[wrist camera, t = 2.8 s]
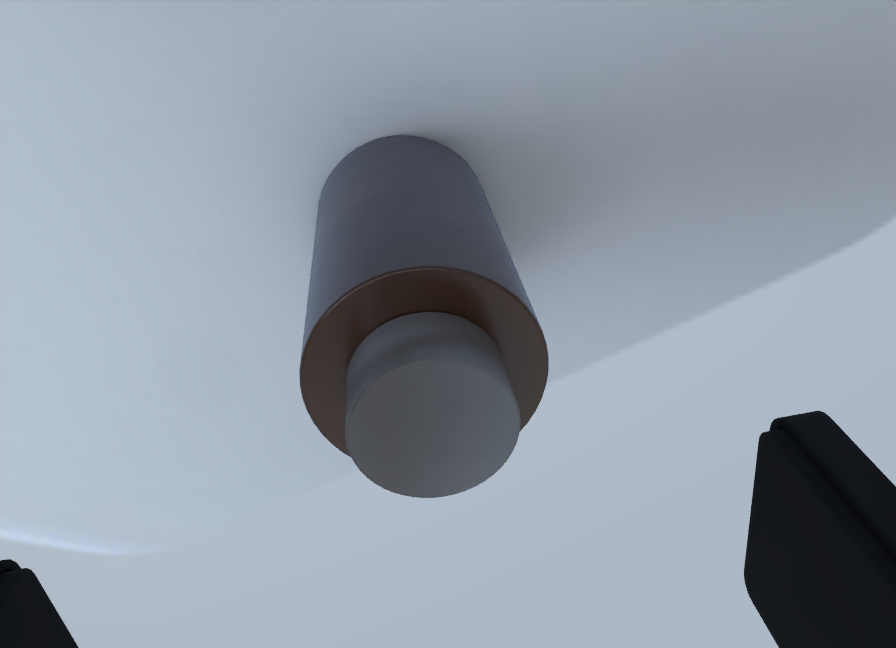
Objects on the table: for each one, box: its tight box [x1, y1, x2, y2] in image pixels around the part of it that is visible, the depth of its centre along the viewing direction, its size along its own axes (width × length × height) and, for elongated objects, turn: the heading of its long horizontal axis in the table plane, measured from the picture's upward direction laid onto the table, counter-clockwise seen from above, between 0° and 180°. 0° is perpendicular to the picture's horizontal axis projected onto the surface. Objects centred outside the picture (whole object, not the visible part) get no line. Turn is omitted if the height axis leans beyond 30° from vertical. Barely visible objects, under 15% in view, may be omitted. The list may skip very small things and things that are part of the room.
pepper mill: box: [300, 136, 548, 498], centre depth 16 cm, size 4×4×9 cm
